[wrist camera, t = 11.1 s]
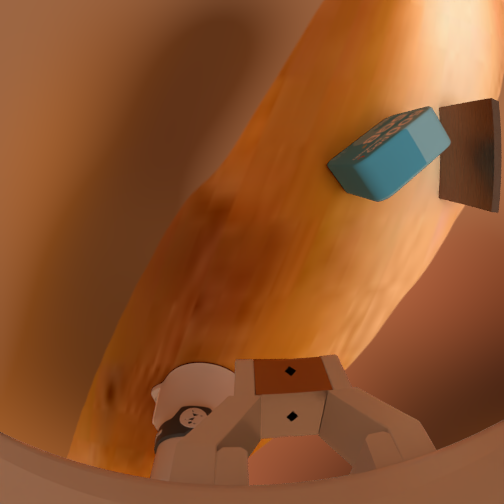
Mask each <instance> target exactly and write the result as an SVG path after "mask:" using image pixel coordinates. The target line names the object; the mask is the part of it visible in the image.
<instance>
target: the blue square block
mask: <svg viewBox="0 0 504 504" xmlns="http://www.w3.org/2000/svg"><path fill="white" fill-rule="evenodd" d="M450 143H451V141H450V139H449V137H448V135H447V133H446V131H445V129H444V128H443V126H442V124H441V122H440V121H439V119H438V117H437V116H436V114H435V112H434V111H433V109H432V108H431V107H429V106H428V107H423V108H420V109H416V110H412V111H408V112H404V113H401V114H397V115H393V116H390V117H388V118H386V119H384V120H383V121H381V122H380V123H379V124H377V125H376V126H375V127H373V128H372V129H371V130H369V131H368V132H367V133H365V134H364V135H363V136H361V137H360V138H359V139H357V140H356V141H355V142H354V143H352V144H351V145H350V146H348V147H347V148H346V149H344V150H343V151H342V152H340V153H339V154H338V155H337V156H335V157H334V158H333V159H332V160H330V161H329V163H328V164H327V166H328V168H329V169H330V170H331V172H332V173H333V174H334V176H335V177H336V179H337V180H338V181H339V183H340V184H341V186H342V187H343V188H344V190H345V191H346V192H347V193H350V194H353V195H356V196H360V197H363V198H366V199H370V200H373V201H377V202H379V201H383V200H386V199H388V198H389V197H391V196H392V195H394V194H395V193H396V192H397V191H398V190H400V189H401V188H402V187H403V186H404V185H405V184H407V183H408V182H409V181H410V180H411V179H412V178H414V177H415V176H416V175H417V174H418V173H419V172H420V171H422V170H423V169H424V168H425V167H426V166H427V165H428V164H430V163H431V162H432V161H433V160H434V159H435V158H436V157H437V156H439V155H440V154H441V153H442V152H443V151H444V150H445V149H446V148H448V146H449V145H450Z"/></svg>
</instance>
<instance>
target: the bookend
mask: <svg viewBox="0 0 504 504" xmlns="http://www.w3.org/2000/svg"><path fill="white" fill-rule="evenodd" d="M439 112H440V122H441V124H442V126H443V128H444V129H445V131H446V133H447V135H448V137H449V139H450V141H451V143H450V145H449V146H448V148H446V149H445V150H444V151H443V152H442V153H441V155H440V186H439V198H441V199H445V200H449V201H453V202H457V203H461V204H465V205H468V206H472V207H476V208H480V209H483V210H487V211H490V212H498V210H499V200H500V184H501V127H500V112H499V102H498V101H496V100H494V99H492V98H490V99H484V100H478V101H472V102H466V103H461V104H456V105H451V106H446V107H441V108H439Z"/></svg>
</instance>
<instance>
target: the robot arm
mask: <svg viewBox="0 0 504 504" xmlns="http://www.w3.org/2000/svg"><path fill="white" fill-rule="evenodd" d="M151 395H152V397H153V399H154V401H155V403H156V406H155V410H154V415H153V420H152V422H153V425H155V428H156V429H157V431H158V433H157V435H156V439H155V447H154V451H155V454H156V455H155V459H154V463H153V467H152V471H151V476H150V478H144V477H138V476H133V475H128V474H123V473H118V472H113V471H109V470H105V469H101V468H97V467H93V466H89V465H86V464H82V463H79V462H76V461H72V460H69V459H66V458H63V457H60V456H57V455H54V454H51V453H49V452H46V451H43V450H41V449H38V448H35V447H33V446H30V445H28V444H25V443H23V442H21V441H18V440H16V439H14V438H12V437H10V436H8V435H5V434H3V433H1V432H0V504H504V420H502V421H501V422H499V423H497V424H495V425H493V426H491V427H489V428H487V429H485V430H483V431H481V432H479V433H477V434H475V435H472V436H470V437H468V438H466V439H463V440H461V441H459V442H456V443H454V444H452V445H449V446H447V447H444V448H441V449H439V450H436V449H435V447H434V445H433V444H432V442H431V440H430V438H429V437H428V435H427V433H426V431H425V430H424V428H423V426H422V425H421V423H420V421H418V420H416V419H414V418H412V417H410V416H409V415H407V414H405V413H403V412H401V411H399V410H397V409H395V408H393V407H392V406H390V405H388V404H386V403H384V402H383V401H381V400H379V399H377V398H375V397H374V396H372V395H370V394H368V393H366V392H365V391H363V390H361V389H359V388H358V387H354V388H352V386H351V384H350V382H349V380H348V377H347V375H346V373H345V371H344V369H343V367H342V365H341V363H340V360H339V358H338V356H337V355H327V356H319V357H311V358H297V359H253V360H252V359H236V361H235V374H234V373H233V372H231V371H230V370H228V369H226V368H223V367H221V366H218V365H214V364H208V363H191V364H186V365H183V366H180V367H178V368H176V369H174V370H173V371H172V372H170V373H169V375H168V376H167V377H166V379H165V380H164V381H163V382H162V383H161V384H158V385H156V386H155V387H153V388H152V392H151ZM316 434H319V436H320V437H321V438H322V439H323V440H324V441H325V442H326V443H327V444H328V445H329V446H331V447H332V448H333V449H334V450H335V451H336V452H337V453H338V454H339V455H340V456H342V457H343V458H344V459H345V460H346V461H347V462H348V463H349V464H351V465H352V466H353V469H352V470H351V473H350V475H346V476H340V477H335V478H328V479H322V480H314V481H307V482H297V483H286V484H272V485H249V479H248V457H249V456H250V455H251V453H252V452H253V450H254V449H255V447H256V446H257V444H258V443H259V442H260V439H263V438H277V437H288V436H303V435H316Z"/></svg>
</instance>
